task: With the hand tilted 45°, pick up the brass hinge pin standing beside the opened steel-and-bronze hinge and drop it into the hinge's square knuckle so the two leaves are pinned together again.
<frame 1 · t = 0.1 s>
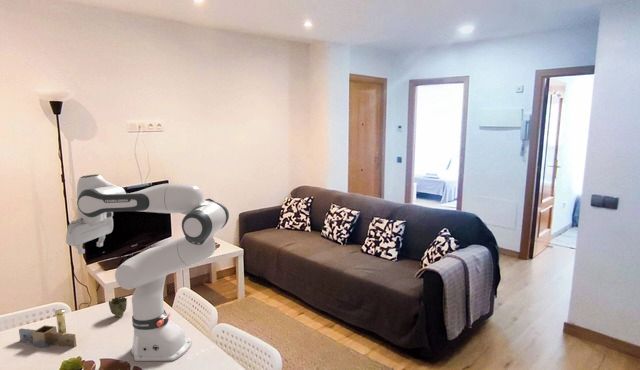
hand: (90, 249, 151), 39 cm above the table, tool pointing down, fingers open, 8 cm apart
cup: (119, 316, 177), on the table
hinge: (45, 343, 156), on the table
hinge pin: (62, 332, 163), on the table
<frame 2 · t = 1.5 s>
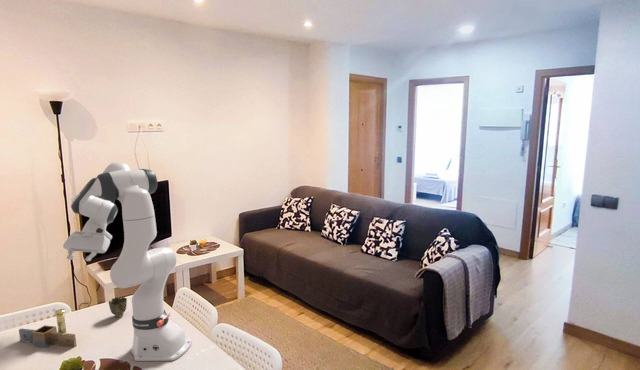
hand: (78, 259, 171), 28 cm above the table, tool tilted 45°, fingers open, 8 cm apart
nothing on the table moved.
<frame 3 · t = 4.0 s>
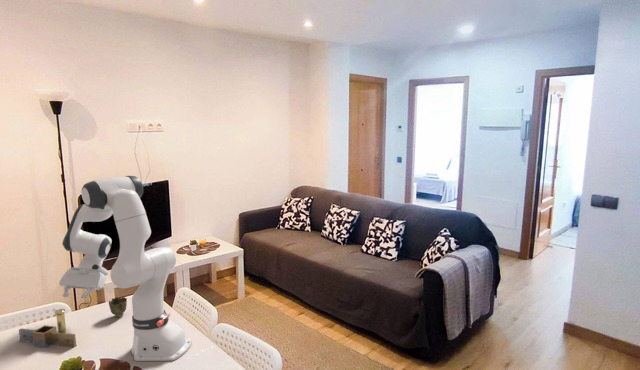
hand: (74, 297, 169), 12 cm above the table, tool tilted 45°, fingers open, 8 cm apart
nothing on the table moved.
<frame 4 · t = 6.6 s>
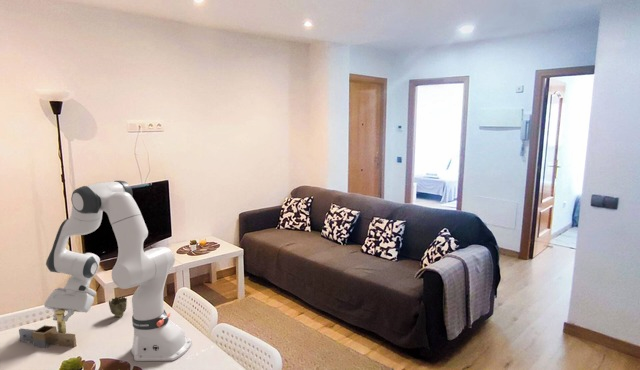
hand: (59, 320, 162), 6 cm above the table, tool tilted 45°, fingers closed on hinge pin, 3 cm apart
hinge pin: (62, 332, 163), on the table, touching gripper
everything else where it was.
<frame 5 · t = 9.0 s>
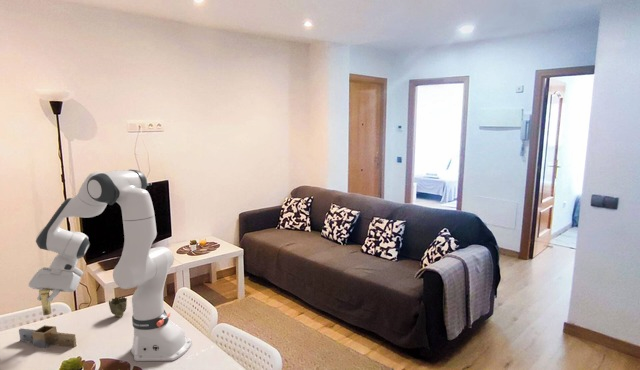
hand: (44, 300, 154), 18 cm above the table, tool tilted 45°, fingers closed on hinge pin, 3 cm apart
hinge pin: (47, 313, 156), point 12 cm above the table, touching gripper
everything else where it was.
when the fingers open (9 cm above the table, at t = 11.6 s): hinge pin drops 2 cm, resting in hinge.
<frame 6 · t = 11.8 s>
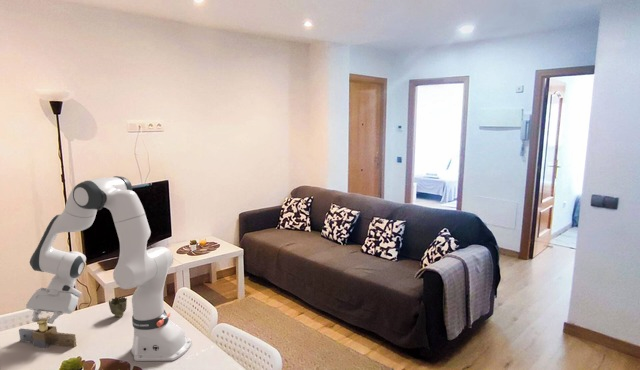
hand: (41, 322, 154), 9 cm above the table, tool tilted 45°, fingers open, 6 cm apart
hinge pin: (45, 343, 156), resting in hinge
everything else where it was.
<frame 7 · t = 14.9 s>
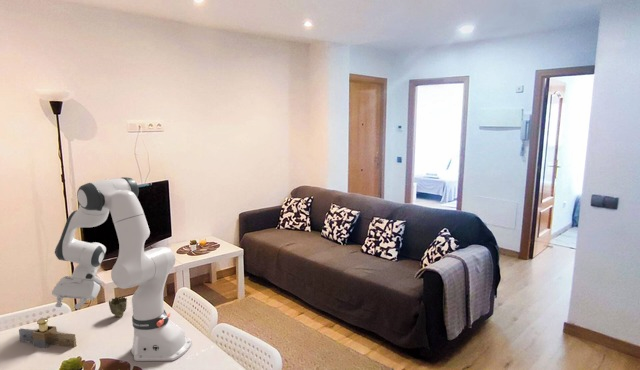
hand: (67, 307, 166), 9 cm above the table, tool tilted 45°, fingers open, 8 cm apart
nothing on the table moved.
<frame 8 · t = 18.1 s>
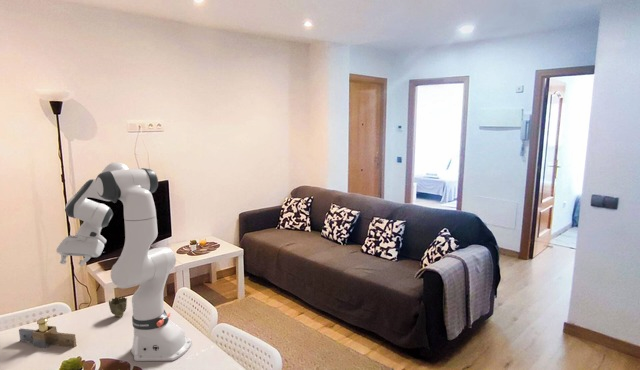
hand: (71, 264, 167), 27 cm above the table, tool tilted 45°, fingers open, 8 cm apart
nothing on the table moved.
at the end: hinge pin 0.4 cm off-centre on the hinge, point 0.0 cm above the hinge's base; hinge pin tilted 0°; the gripper is holding nothing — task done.
